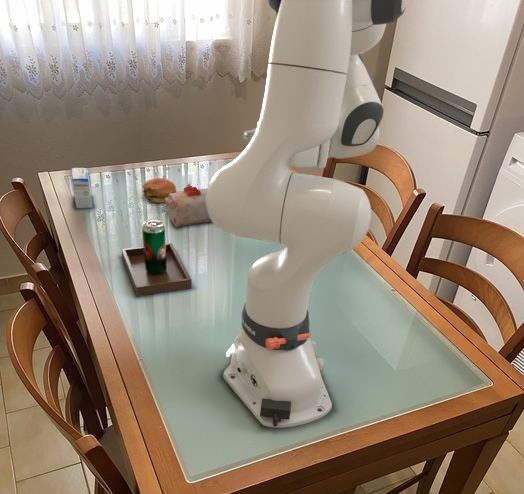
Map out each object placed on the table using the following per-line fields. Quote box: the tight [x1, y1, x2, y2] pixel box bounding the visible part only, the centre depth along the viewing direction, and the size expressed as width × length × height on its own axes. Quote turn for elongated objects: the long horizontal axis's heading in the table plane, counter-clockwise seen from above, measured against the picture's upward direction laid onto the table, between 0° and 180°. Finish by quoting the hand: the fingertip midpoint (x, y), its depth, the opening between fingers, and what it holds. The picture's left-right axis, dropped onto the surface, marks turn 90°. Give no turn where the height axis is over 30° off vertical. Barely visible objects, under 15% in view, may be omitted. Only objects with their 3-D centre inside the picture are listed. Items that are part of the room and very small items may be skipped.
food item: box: [165, 183, 212, 228], centre depth 146 cm, size 14×8×10 cm, turn 117°
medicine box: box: [70, 167, 93, 209], centre depth 150 cm, size 8×4×9 cm, turn 17°
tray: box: [121, 242, 192, 297], centre depth 127 cm, size 18×13×2 cm
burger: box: [142, 177, 177, 204], centre depth 158 cm, size 10×9×5 cm
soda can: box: [141, 219, 167, 274], centre depth 123 cm, size 5×5×12 cm
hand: (252, 143), depth 114 cm, fingers open, 8 cm apart
